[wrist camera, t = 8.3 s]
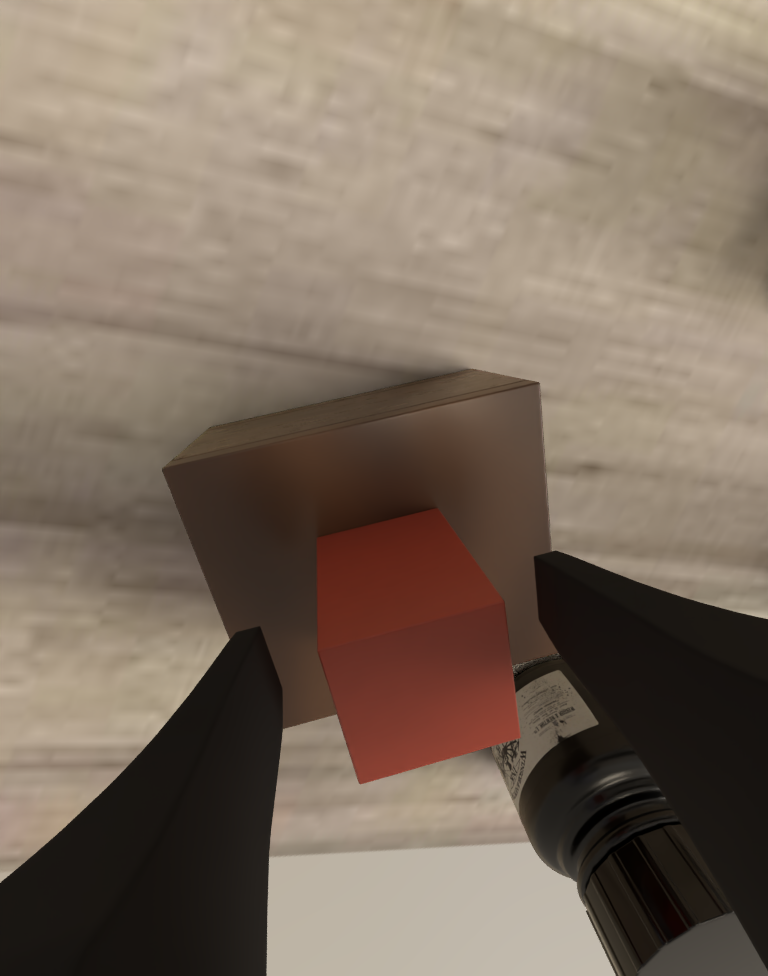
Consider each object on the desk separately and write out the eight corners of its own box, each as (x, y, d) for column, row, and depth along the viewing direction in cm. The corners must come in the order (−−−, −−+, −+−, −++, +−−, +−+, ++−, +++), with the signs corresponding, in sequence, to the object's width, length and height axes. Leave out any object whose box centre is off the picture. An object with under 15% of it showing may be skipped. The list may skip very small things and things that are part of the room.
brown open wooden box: (279, 631, 23) (266, 734, 17) (208, 427, 19) (160, 468, 13) (498, 574, 24) (559, 653, 18) (473, 368, 20) (540, 381, 14)
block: (344, 638, 16) (359, 785, 11) (316, 537, 14) (316, 651, 9) (455, 609, 16) (521, 738, 11) (438, 507, 15) (505, 601, 10)
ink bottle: (509, 641, 25) (665, 886, 14) (639, 652, 27) (870, 876, 16) (466, 767, 28) (566, 1054, 17) (586, 769, 30) (748, 1030, 19)
